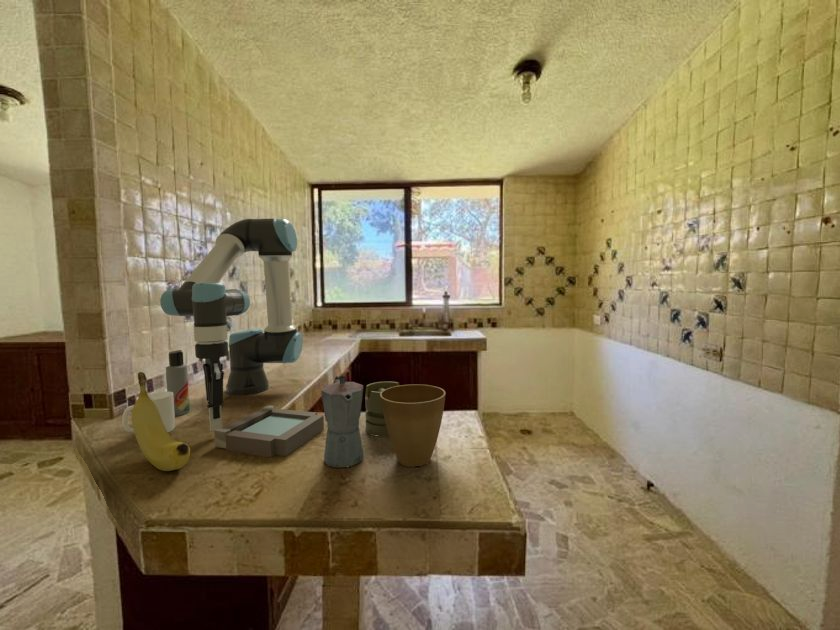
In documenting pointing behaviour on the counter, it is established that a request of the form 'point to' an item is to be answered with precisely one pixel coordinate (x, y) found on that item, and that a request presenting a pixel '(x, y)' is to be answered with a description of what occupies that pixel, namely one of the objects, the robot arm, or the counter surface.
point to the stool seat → (276, 433)
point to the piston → (376, 408)
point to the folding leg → (241, 425)
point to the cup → (164, 406)
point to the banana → (156, 434)
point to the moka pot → (342, 422)
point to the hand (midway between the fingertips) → (216, 429)
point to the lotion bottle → (178, 382)
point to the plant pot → (413, 421)
